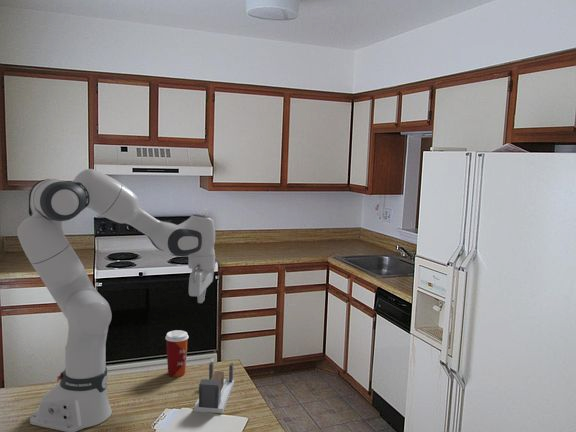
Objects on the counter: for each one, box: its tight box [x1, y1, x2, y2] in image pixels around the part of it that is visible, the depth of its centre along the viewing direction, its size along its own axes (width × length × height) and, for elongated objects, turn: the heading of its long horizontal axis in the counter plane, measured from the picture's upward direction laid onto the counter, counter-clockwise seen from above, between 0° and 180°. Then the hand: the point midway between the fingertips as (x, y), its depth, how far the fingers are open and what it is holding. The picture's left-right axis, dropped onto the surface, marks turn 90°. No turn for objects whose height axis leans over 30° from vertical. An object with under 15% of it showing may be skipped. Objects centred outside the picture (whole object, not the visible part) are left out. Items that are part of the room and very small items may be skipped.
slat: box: [211, 370, 225, 389], centre depth 160 cm, size 3×14×5 cm, turn 176°
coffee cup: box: [165, 329, 190, 378], centre depth 178 cm, size 8×8×15 cm
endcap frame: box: [193, 361, 235, 414], centre depth 162 cm, size 9×20×9 cm, turn 176°
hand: (201, 301), depth 169 cm, fingers closed
